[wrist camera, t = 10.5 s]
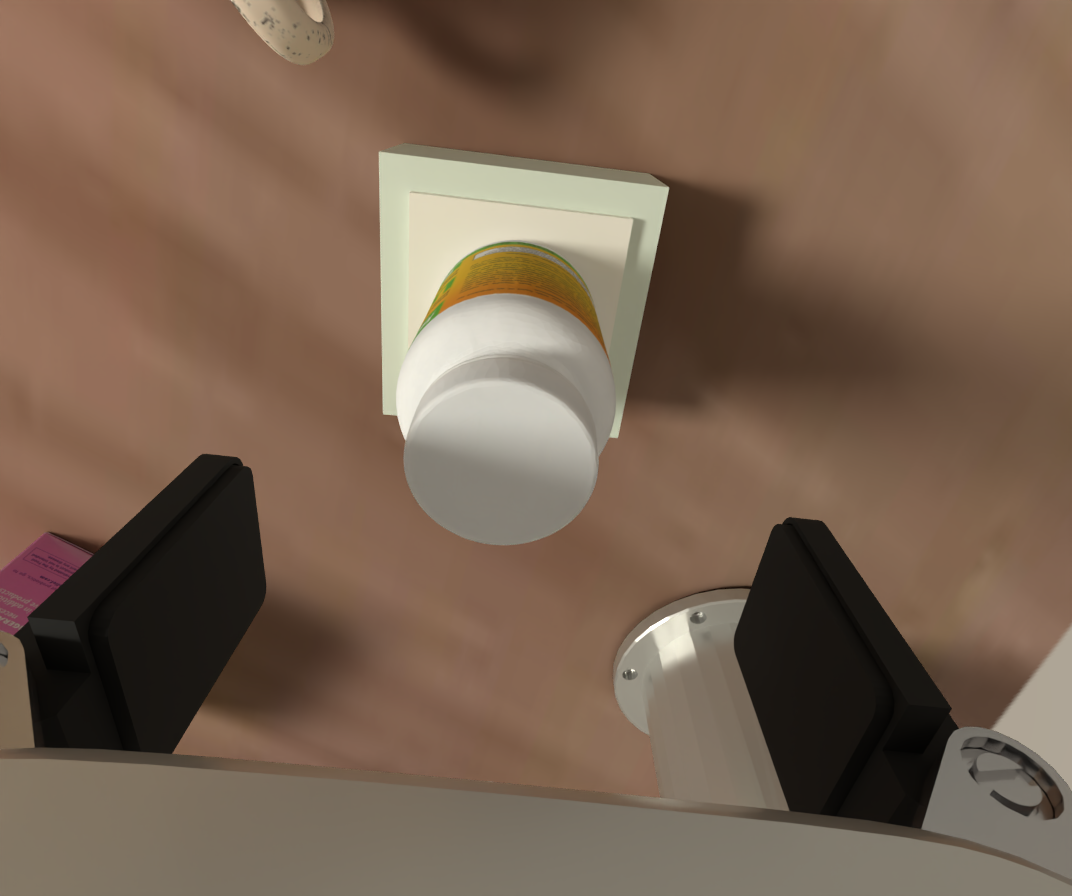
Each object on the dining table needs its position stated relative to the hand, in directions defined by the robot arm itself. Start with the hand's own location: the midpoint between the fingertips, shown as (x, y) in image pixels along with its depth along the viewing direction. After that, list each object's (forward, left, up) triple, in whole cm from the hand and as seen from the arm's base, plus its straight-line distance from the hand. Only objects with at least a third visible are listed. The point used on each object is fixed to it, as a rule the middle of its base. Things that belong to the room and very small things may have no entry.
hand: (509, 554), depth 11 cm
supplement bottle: (0, -1, -12) cm, 12 cm away
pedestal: (0, -1, -16) cm, 16 cm away
